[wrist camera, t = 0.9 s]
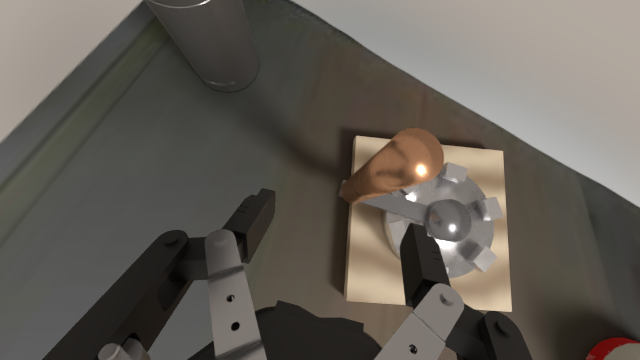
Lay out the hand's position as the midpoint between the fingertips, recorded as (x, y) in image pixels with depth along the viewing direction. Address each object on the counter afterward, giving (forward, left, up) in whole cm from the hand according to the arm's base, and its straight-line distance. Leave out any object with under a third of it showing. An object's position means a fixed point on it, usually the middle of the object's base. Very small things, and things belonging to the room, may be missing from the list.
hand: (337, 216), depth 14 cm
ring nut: (-2, +12, -17) cm, 21 cm away
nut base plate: (-1, +15, -19) cm, 25 cm away
